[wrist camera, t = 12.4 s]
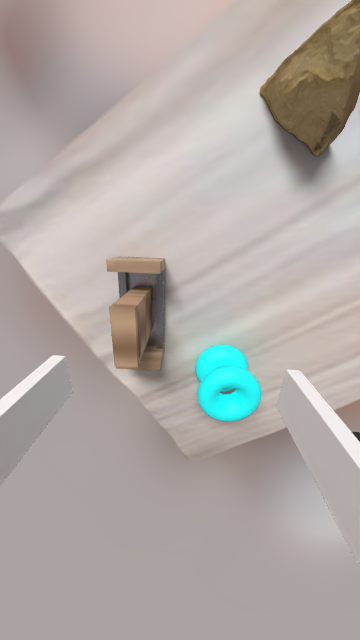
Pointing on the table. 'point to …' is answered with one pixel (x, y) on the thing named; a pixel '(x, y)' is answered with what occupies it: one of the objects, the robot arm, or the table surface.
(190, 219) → the table surface
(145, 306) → the door panel
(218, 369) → the donuts
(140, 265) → the frame posts
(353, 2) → the rock
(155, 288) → the track
